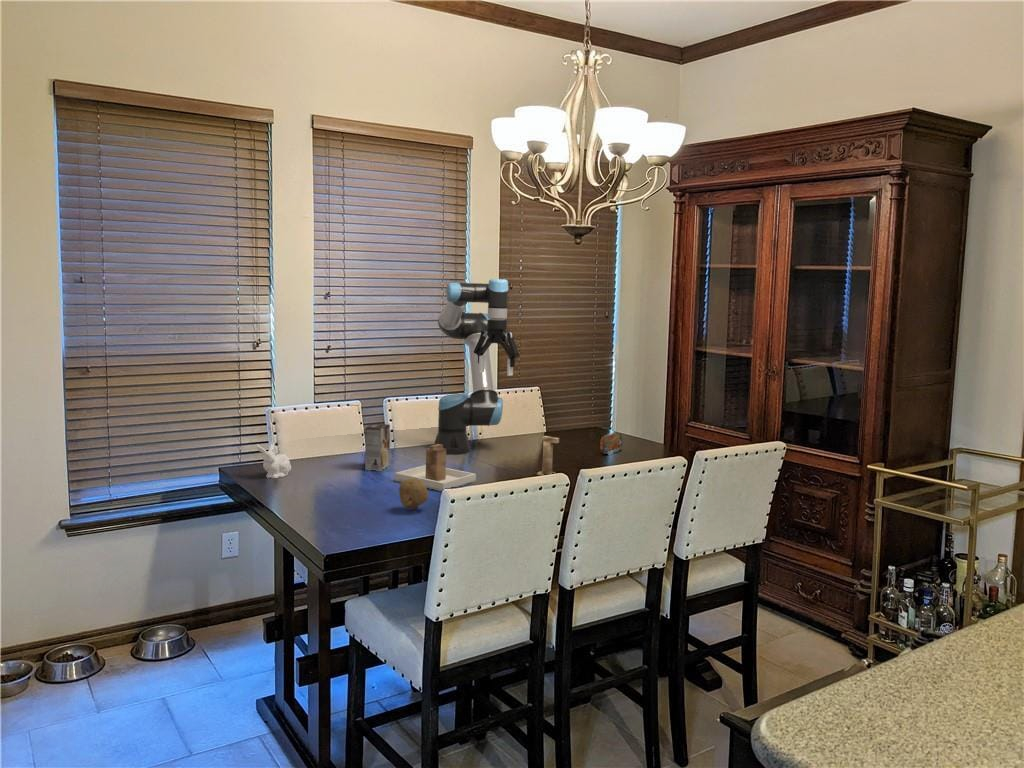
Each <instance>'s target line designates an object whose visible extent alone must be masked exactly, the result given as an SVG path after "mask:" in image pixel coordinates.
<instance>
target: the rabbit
mask: <svg viewBox="0 0 1024 768" xmlns="http://www.w3.org/2000/svg"><path fill="white" fill-rule="evenodd" d="M256 446H257V450H258V452H261V453H262V454H263V459H262V460H263V465H262V466H263V469H264V470H265V472H267V474H266V476H265V478H266V477H267V478H266V479H278V478H284V477H286V476H288V475H289V473H290V472H291V469H292V465H291V462H290V459H289V457H288V456H287V454H284V453H277V454H275V452H274V451H273V450H274V448H275V446H274V444H273V441H270V445H269V446H268V451H267V450H266V449H265V448H264V447H262V446H260V444H258V443H257V444H256ZM270 477H271V478H270Z"/></svg>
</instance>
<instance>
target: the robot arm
mask: <svg viewBox="0 0 1024 768" xmlns="http://www.w3.org/2000/svg"><path fill="white" fill-rule="evenodd" d="M508 296H509V281H508V280H507V279H502V278H497V279H496V278H490V279H489V280H488V283H475V282H448V283H447V284H446V291H445V297H446V301H447V302H446V305H445V307H444V310H442V311H441V312H440V313H439V315H438V319H437V325H438V327H439V329H440V330H441V332H442V333H443V334H444V335H445V336H448V338H451V339H455V340H464V343H465V345H466V346H467V347H468V350H469V360H470V370H471V371H470V372H471V380H472V381H471V382H472V391H473V392H472V393H470V395H469V396H470V397H468V395H467V394H466V393H453V394H452V393H451V394H447V395H444V396H442V397H441V396H440V398H439V401H438V407H437V409H438V425H437V427H438V428H437V430H438V431H437V434H436V437H435V440H434V443H433V445H436V444H441V445H443V448H445V449H446V455H448V454H449V455H461V454H460V453H463V454H466V452H467V453H470V451H471V445H470V442H469V438H468V434H467V427H468V426H469V427H470V426H480V427H481V426H482V427H483V426H486V427H487V426H488V427H490V426H498V425H499V424H500V423H501V420H502V415H503V408H504V400H503V398H502V397H500V396H499V395H498V392H497V391H496V390H494V383H493V374H492V373H493V371H492V366H491V357H490V346H491V345H492V344H497V345H498V344H500V345H501V347H502V348H503V350H504V351H505V353H506V355H507V356H508V357H509V358H507V366H506V367H507V369H506V370H507V371H506V373H507V374H506V376H507V377H509V376H514V374H513V373H514V367H515V365H516V364H515V363H516V362H515V361H516V359H517V358H520V353H519V350H518V347H517V344H516V341H515V339H514V333H513V332H507V329H508V321H507V320H506V319H507V318H508V301H509V297H508ZM467 303H481V304H483V303H485V304H487V313H483V312H464V310H465V308H466V305H467Z"/></svg>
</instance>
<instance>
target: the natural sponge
mask: <svg viewBox="0 0 1024 768" xmlns="http://www.w3.org/2000/svg"><path fill="white" fill-rule="evenodd" d="M398 493H399V499H400V502H401V505H402V506H403V507H405V508H406V509H407V510H408V511H409V510H410V511H413V509H414V510H415V509H417V508H418V507H419V506H421V505H423V504H425V503H426V502H427V501H428V500H429V499H428V498H429V491H428V489H427V488H426V487H425V485H424V484H423V482H422V481H421V480H419V479H417V478H411V479H406V480H405V481H403V482H402V483H401V482H400V485H399V487H398Z"/></svg>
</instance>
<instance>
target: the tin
mask: <svg viewBox="0 0 1024 768" xmlns="http://www.w3.org/2000/svg"><path fill="white" fill-rule="evenodd" d="M622 446H623V437H622V435H621V434H620V433H619V432H612V433H609V434H603V436H602V437H601V439H600V441H599V451H600V453H601V452H604V453H606V452H608V451H611V450H614V449H617V448H620V447H621V448H622Z"/></svg>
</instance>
